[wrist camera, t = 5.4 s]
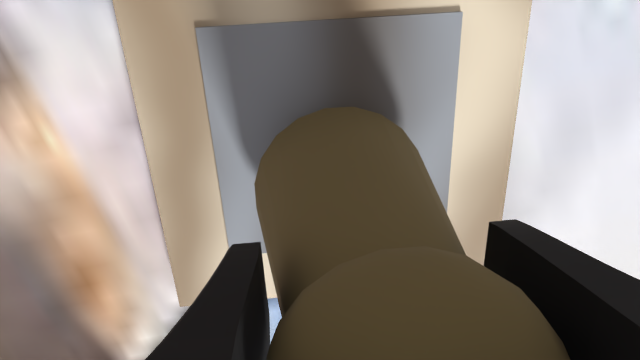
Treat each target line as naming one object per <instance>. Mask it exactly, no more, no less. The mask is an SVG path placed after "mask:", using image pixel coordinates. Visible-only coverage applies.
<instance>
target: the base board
mask: <svg viewBox="0 0 640 360" xmlns="http://www.w3.org/2000/svg"><path fill="white" fill-rule="evenodd" d="M112 1H113V5H114V10H115V14H116V19H117V23H118V28H119V33H120V37H121V42H122V46H123V51H124V55H125V60H126V64H127V69H128V73H129V78H130V82H131V87H132V91H133V96H134V100H135V105H136V110H137V114H138V119H139V123H140V128H141V132H142V137H143V141H144V146H145V150H146V155H147V159H148V164H149V168H150V173H151V178H152V182H153V187H154V191H155V196H156V200H157V205H158V209H159V214H160V218H161V223H162V227H163V232H164V236H165V241H166V245H167V250H168V255H169V259H170V264H171V268H172V273H173V277H174V282H175V286H176V291H177V295H178V300H179V304H180V307H183V306H191V305H192V303H193V302H194V301H195V299H196V298H197V296H198V295H199V294H200V292H201V291H202V289H203V288H204V286H205V285H206V284H207V282H208V281H209V279H210V278H211V276H212V275H213V273H214V272H215V270H216V269H217V267H218V265H219V264H220V262H221V261H222V259H223V257H224V256H225V254H226V252H227V250H228V249H229V248H230V247H231V246H232V245H233V244H240V243H252V242H261V249H262V258H263V266H264V275H265V283H266V291H267V298H277V294H276V290H275V285H274V281H273V277H272V273H271V268H270V264H269V260H268V256H267V251H266V247H265V243H264V239H263V234H262V230H261V226H260V222H259V217H258V213H257V209H256V197H255V186H254V183H255V179H256V175H257V172H258V168H259V164H260V160H261V158H262V156H263V155H264V153H265V152H266V150H267V149H268V147H269V146H270V144H271V142H272V141H273V139H274V138H275V136H276V135H278V134H279V133H280V132H281V131H283V130H284V129H285V128H286V127H288V126H289V125H290V124H291V123H293V122H294V121H295V120H297V119H298V118H300V117H303V116H305V115H308V114H311V113H313V112H316V111H319V110H321V109H324V108H337V107H357V108H360V109H364V110H368V111H372V112H375V113H379V114H381V115H383V116H384V117H386V118H387V119H389V120H390V121H392V122H393V123H395V124H396V125H397V126H399V127H400V128H402V129H403V130H404V132H405V133H406V134H407V136H408V137H409V139H410V140H411V141H412V143H413V144H414V145H415V147H416V148H417V149H418V152H419V154H420V156H421V158H422V160H423V162H424V165H425V167H426V169H427V171H428V173H429V175H430V178H431V180H432V182H433V184H434V186H435V189H436V191H437V193H438V195H439V197H440V199H441V202H442V204H443V206H444V208H445V210H446V212H447V215H448V217H449V219H450V221H451V223H452V226H453V228H454V230H455V232H456V234H457V236H458V239H459V241H460V243H461V245H462V247H463V249H464V252H465V254H466V256H468V257H470V258H471V259H473V260H475V261H476V262H478V263H480V264H481V265H483V266H484V258H485V250H486V242H487V234H488V226H489V222H492V221H502V216H503V209H504V201H505V194H506V187H507V180H508V172H509V165H510V158H511V150H512V143H513V136H514V129H515V121H516V114H517V107H518V99H519V92H520V85H521V78H522V70H523V63H524V56H525V48H526V41H527V34H528V27H529V19H530V12H531V5H532V0H112Z"/></svg>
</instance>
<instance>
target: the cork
mask: <svg viewBox="0 0 640 360" xmlns="http://www.w3.org/2000/svg"><path fill="white" fill-rule="evenodd" d="M254 186H255V197H256V209H257V213H258V217H259V222H260V226H261V230H262V234H263V239H264V243H265V247H266V251H267V256H268V260H269V264H270V268H271V273H272V277H273V281H274V285H275V290H276V294H277V298H278V302H279V307H280V311H281V315H282V319H281V320H280V321H279V323H278V326H277V328H276V331H275V333H274V336H273V339H272V341H271V344H270V347H269V351H268V354H267V357H266V360H570V358H569V355H568V353H567V351H566V348H565V346H564V344H563V342H562V340H561V339H560V338H559V336H558V335H557V334H556V332H555V331H554V329H553V328H552V327H551V325H550V324H549V323H548V321H547V320H546V318H545V317H544V316H543V314H542V313H541V312H540V310H539V309H538V308H537V307H536V306H535V305H534V303H533V302H532V301H531V300H530V299H529V298H528V297H527V295H526V294H525V293H524V292H523V291H522V290H521V289H520V288H519V287H517V286H516V285H514V284H512V283H511V282H509V281H507V280H506V279H504V278H502V277H501V276H499V275H498V274H496V273H494V272H493V271H491V270H489V269H488V268H486V267H485V266H483V265H481V264H480V263H478V262H476V261H475V260H473V259H471V258H470V257H468V256H466V254H465V252H464V249H463V247H462V245H461V243H460V241H459V239H458V236H457V234H456V232H455V230H454V228H453V226H452V223H451V221H450V219H449V217H448V215H447V212H446V210H445V208H444V206H443V204H442V202H441V199H440V197H439V195H438V193H437V191H436V189H435V186H434V184H433V182H432V180H431V178H430V175H429V173H428V171H427V169H426V167H425V165H424V162H423V160H422V158H421V156H420V154H419V152H418V149H417V148H416V147H415V145H414V144H413V143H412V141H411V140H410V139H409V137H408V136H407V134H406V133H405V132H404V130H403V129H402V128H400V127H399V126H397V125H396V124H395V123H393V122H392V121H390V120H389V119H387V118H386V117H384V116H383V115H381V114H379V113H375V112H372V111H368V110H364V109H360V108H357V107H337V108H324V109H321V110H319V111H316V112H313V113H311V114H308V115H305V116H303V117H300V118H298V119H297V120H295V121H294V122H293V123H291V124H290V125H289V126H288V127H286V128H285V129H284V130H283V131H281V132H280V133H279V134H278V135H276V136H275V138H274V139H273V141H272V142H271V144H270V146H269V147H268V149H267V150H266V152H265V153H264V155H263V156H262V158H261V160H260V164H259V168H258V172H257V175H256V179H255V183H254Z"/></svg>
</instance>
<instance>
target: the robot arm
mask: <svg viewBox="0 0 640 360" xmlns="http://www.w3.org/2000/svg"><path fill="white" fill-rule="evenodd" d="M484 266H485V267H486V268H488V269H489V270H491V271H493V272H494V273H496V274H498V275H499V276H501V277H502V278H504V279H506V280H507V281H509V282H511V283H512V284H514V285H516V286H517V287H519V288H520V289H521V290H522V291H523V292H524V293H525V294H526V295H527V297H528V298H529V299H530V300H531V301H532V302H533V303H534V305H535V306H536V307H537V308H538V309H539V310H540V312H541V313H542V314H543V316H544V317H545V318H546V320H547V321H548V323H549V324H550V325H551V327H552V328H553V329H554V331H555V332H556V334H557V335H558V336H559V338H560V339H561V340H562V342H563V344H564V346H565V348H566V351H567V353H568V355H569V358H570V360H640V280H639V279H637V278H634V277H632V276H630V275H628V274H626V273H624V272H622V271H619V270H617V269H615V268H613V267H611V266H609V265H607V264H605V263H603V262H601V261H599V260H597V259H595V258H593V257H591V256H589V255H587V254H585V253H583V252H581V251H579V250H577V249H575V248H573V247H571V246H569V245H567V244H565V243H564V242H562V241H560V240H558V239H556V238H554V237H552V236H550V235H548V234H546V233H544V232H542V231H540V230H538V229H536V228H534V227H532V226H530V225H527V224H525V223H523V222H520V221H518V220H503V221H492V222H489V226H488V234H487V242H486V250H485V258H484ZM269 347H270V325H269V308H268V300H267V291H266V283H265V275H264V266H263V258H262V249H261V242H252V243H240V244H233V245H232V246H231V247H230V248H229V249H228V250H227V252H226V254H225V256H224V257H223V259H222V261H221V262H220V264H219V265H218V267H217V269H216V270H215V272H214V273H213V275H212V276H211V278H210V279H209V281H208V282H207V284H206V285H205V286H204V288H203V289H202V291H201V292H200V294H199V295H198V296H197V298H196V299H195V301H194V302H193V303H192V305H191V306H190V307H189V309H188V310H187V311H186V312H185V314H184V315H183V316H182V317H181V319H180V320H179V321H178V322H177V324H176V325H175V326H174V327H173V329H172V330H171V331H170V332H169V333H168V335H167V336H166V337H165V338H164V339H163V341H162V342H161V343H160V344H159V345H158V346H157V347H156V348H155V350H154V351H153V352H152V353H151V354H150V355H149V356H148V357H147V358H146V359H145V360H266V357H267V354H268V351H269Z"/></svg>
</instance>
